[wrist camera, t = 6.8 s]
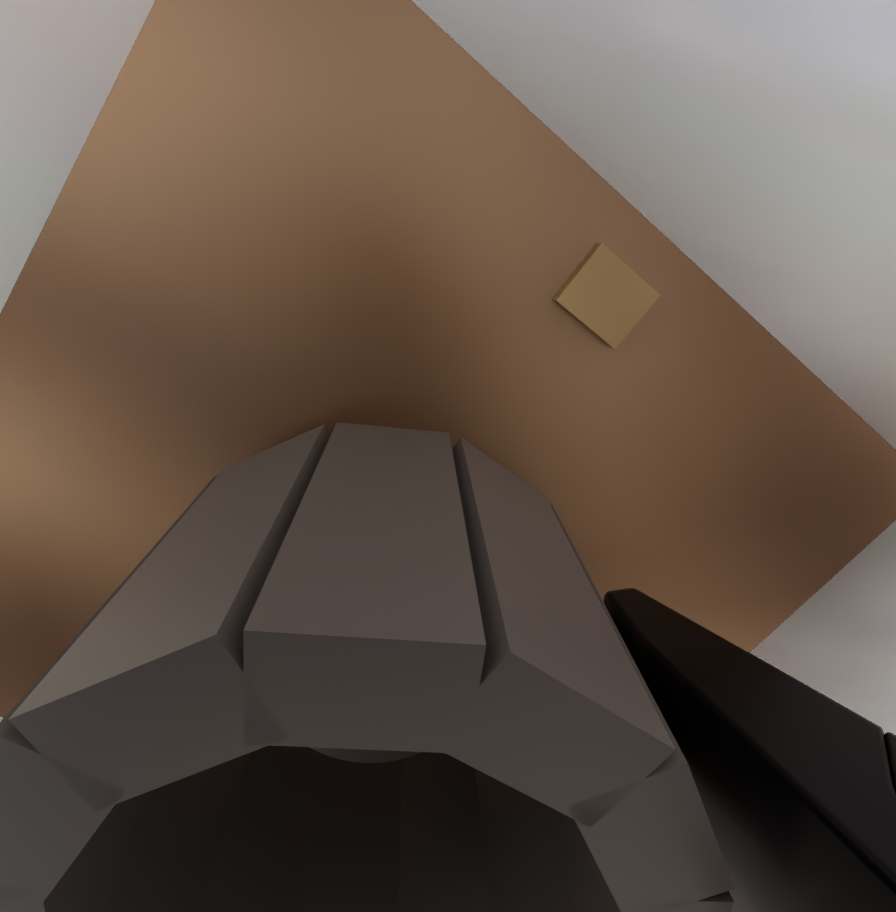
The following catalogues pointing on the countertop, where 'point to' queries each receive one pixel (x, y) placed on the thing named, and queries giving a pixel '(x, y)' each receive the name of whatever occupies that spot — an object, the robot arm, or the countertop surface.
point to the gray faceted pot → (353, 710)
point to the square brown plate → (391, 329)
